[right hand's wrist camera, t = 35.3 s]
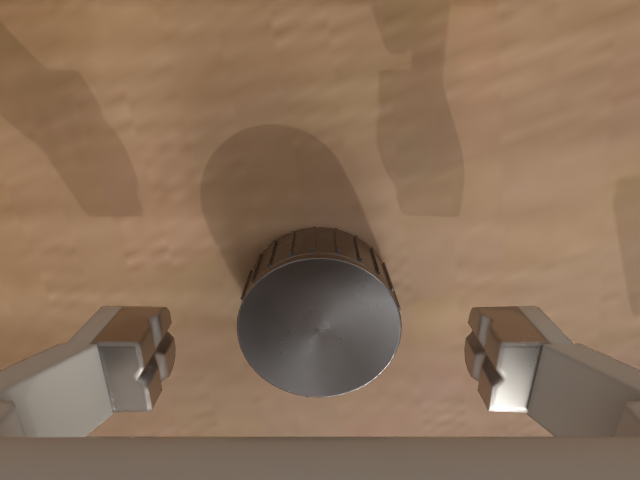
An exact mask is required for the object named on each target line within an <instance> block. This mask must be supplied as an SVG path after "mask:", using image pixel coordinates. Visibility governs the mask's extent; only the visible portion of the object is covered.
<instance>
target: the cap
mask: <svg viewBox="0 0 640 480" xmlns="http://www.w3.org/2000/svg"><path fill="white" fill-rule="evenodd" d="M241 299H242V300H243V301H242V304H241V307H240V310H239V314H238V316H237V334H238V340H239V344H240V347H241V350H242V352H243V354H244V356H245V358H246V360H247V361H248V363H249V364H250V366H251V367H252V368H253V369H254V370H255V372H257V373H258V374H259V375H260V376H261V377H262V378H263V379H265V380H266V381H267V382H269V383H270V384H272V385H274V386H276V387H277V388H279V389H282V390H284V391H287V392H290V393H293V394H297V395H302V396H307V397H330V396H337V395H342V394H346V393H349V392H352V391H354V390H357V389H359V388H361V387H363V386H365V385H366V384H368V383H370V382H371V381H373V380H374V379H375V378H376V377H378V376H379V375H380V374H381V373H382V372H383V371H384V370H385V369H386V368H387V366H388V365H389V363H390V362H391V361H392V359H393V357H394V355H395V353H396V351H397V348H398V346H399V342H400V337H401V326H402V325H401V316H400V312H399V310H400V306H399V303H398V300H397V297H396V294H395V291H394V288H393V285H392V282H391V279H390V276H389V273H388V271H387V268H386V265H385V263H382V261H381V260H380V258H379V257H378V255H377V254H376V253H375V250H374V248H373V247H371V248H370V247H369V246H368V245H367V244H366V243H365V242H363V241H362V240H360V239H359V238H358V236H356V235H355V236H353V235H351V234H349V233H346V232H343V231H340V230H338V229H337V228H335V229H331V228H316V227H313V228H309V229H302V230H299V231H292V232H291V233H290V234H288V235H285V236H283V237H282V238H280V239H278V240H277V241H276V240H274V241H273V243H272V245H270V246H269V247H268V248H267V249H266V250H265V251H264V252H263V254H260V255H259V256H258V259H257V262H256V265H255V267H254V269H253V271H252V270H251V271H250V274H249V276H248V279H247V282H246V285H245V288H244V291H243V293H242V296H241Z"/></svg>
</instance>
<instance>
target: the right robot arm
mask: <svg viewBox="0 0 640 480" xmlns="http://www.w3.org/2000/svg"><path fill="white" fill-rule="evenodd" d="M171 323H172V321H171V316H170V311H169V310H168V309H167V308H166V307H139V306H126V307H125V306H105V307H101V308H100V309H99V310H98V311H97V312H96V313H95V314H94V315H93V316H92V317H91V319H90V320H89V321H88V322H87V323H86V324H85V325H84V326H83V327H82V328H81V329H80V330H79V331H78V332H77V333H76V334H75V335H74V336H73V337H72V338H71V339H70V340H69V341H68V342H67V344H58V345H56V346H54V347H51V348H49V349H47V350H45V351H42V352H40V353H38V354H36V355H33V356H31V357H29V358H27V359H24V360H22V361H20V362H18V363H16V364H13V365H11V366H9V367H7V368H4V369H2V370H0V480H640V370H638V369H635V368H633V367H631V366H629V365H626V364H624V363H622V362H620V361H618V360H615V359H613V358H611V357H609V356H606V355H604V354H602V353H600V352H598V351H595V350H593V349H591V348H589V347H586V346H584V345H582V344H573V343H572V341H571V340H570V339H569V338H568V337H567V336H566V335H565V334H564V333H563V332H562V331H561V330H560V329H559V328H558V327H557V326H556V325H555V324H554V323H553V322H552V321H551V320H550V318H549V317H548V316H547V315H546V314H545V313H544V312H543V311H542V310H541V309H540V308H539V307H536V306H513V307H476V308H472V310H471V312H470V315H469V321H468V323H469V325H470V327H471V328H472V330H473V331H472V332H471V333H470V334H469V335H468V336H467V338H466V341H465V349H464V351H465V362H466V366H467V369H468V371H469V373H470V375H471V377H472V378H474V379H475V380H477V381H478V382H479V386H478V391H479V393H480V395H481V397H482V399H483V401H484V403H485V405H486V407H487V409H488V411H500V412H527V415H529V416H530V417H531V418H532V419H534V420H535V421H536V422H537V423H539V424H540V425H541V426H542V427H544V428H545V429H546V430H547V431H549V432H550V433H551V434H552V435H554V436H555V437H85V436H87V435H88V434H89V433H90V432H92V431H93V430H94V429H95V428H97V427H98V426H99V425H100V424H102V423H103V422H104V421H105V420H107V419H108V418H109V417H110V416H112V415H113V412H139V411H152V409H153V407H154V405H155V403H156V401H157V399H158V397H159V395H160V393H161V391H162V386H161V382H162V381H163V380H165V379H166V378H168V377H169V375H170V373H171V371H172V369H173V365H174V360H175V341H174V338H173V337H172V336H171V334H170V333H169V332H168V331H167V330H168V328H169V327H170V325H171Z"/></svg>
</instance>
